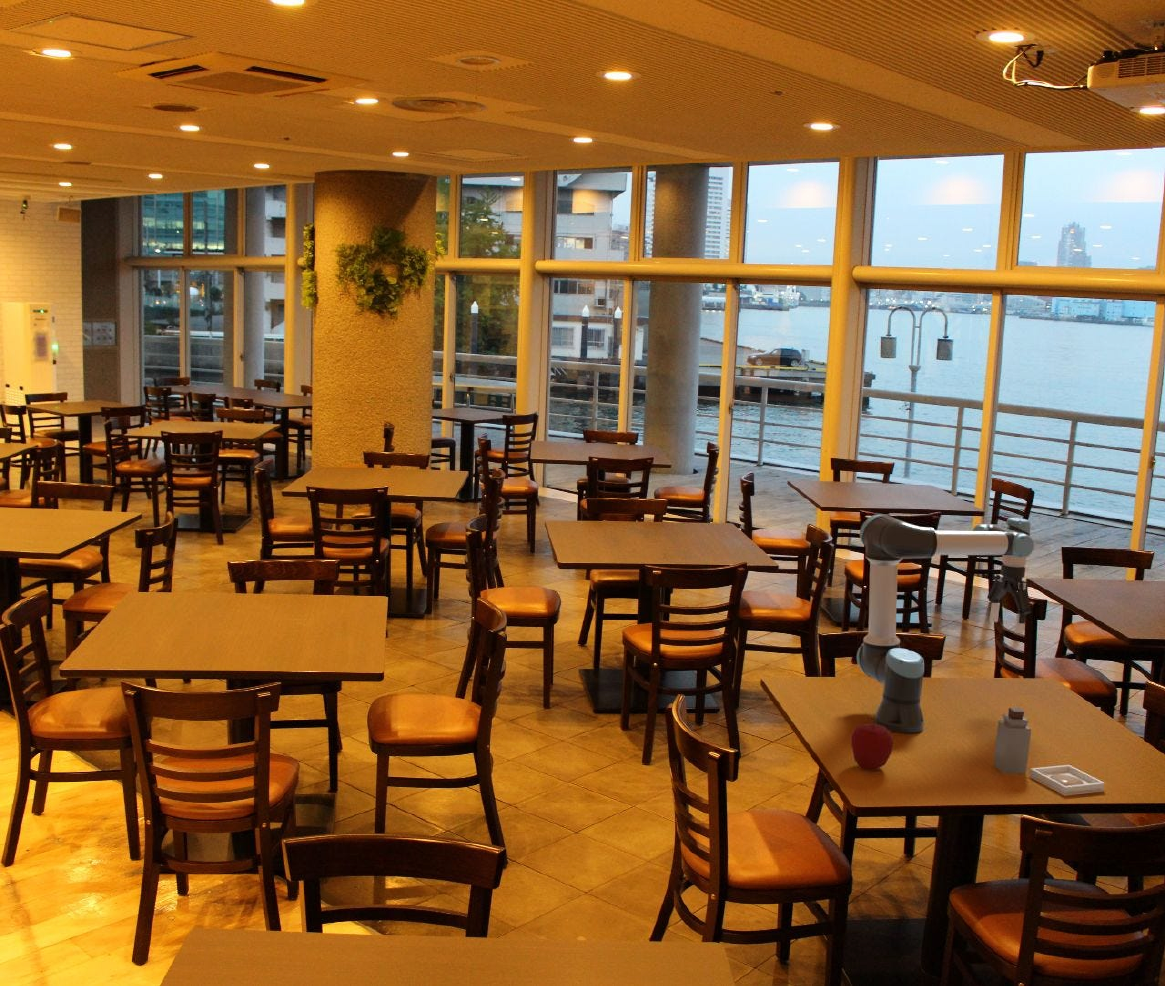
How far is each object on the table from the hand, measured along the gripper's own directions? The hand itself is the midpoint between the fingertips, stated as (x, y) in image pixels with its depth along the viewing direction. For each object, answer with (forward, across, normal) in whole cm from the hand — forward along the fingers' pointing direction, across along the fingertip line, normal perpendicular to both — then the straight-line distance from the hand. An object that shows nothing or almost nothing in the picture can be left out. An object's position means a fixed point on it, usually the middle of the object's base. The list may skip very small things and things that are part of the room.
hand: (1005, 627), depth 413 cm
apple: (+28, -45, +74) cm, 91 cm away
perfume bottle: (+28, -52, +33) cm, 68 cm away
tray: (+28, -65, +23) cm, 74 cm away
